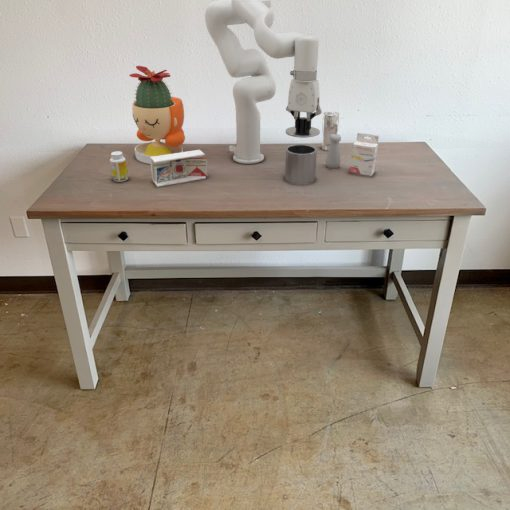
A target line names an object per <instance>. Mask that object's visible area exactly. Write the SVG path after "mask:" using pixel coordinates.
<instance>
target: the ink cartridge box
mask: <svg viewBox="0 0 510 510" xmlns="http://www.w3.org/2000/svg"><path fill="white" fill-rule="evenodd" d="M367 137H368V138H367ZM379 138H380V137H379V135H376V134H370V133H363V132H362V133H361V132H357V134H356V141H355V142H354V143H353V144H352V149H351V159H350V167H349V173H351V174H358V175H364V176H369V177H372V176H373V175H374V173H375V170H376V163H377V156H378V155H377V154H378V149H379Z"/></svg>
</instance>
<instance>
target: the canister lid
mask: <svg viewBox="0 0 510 510" xmlns="http://www.w3.org/2000/svg"><path fill="white" fill-rule="evenodd" d="M306 119H307V117H305V116H302V117H301V116H300V118H299V131H296V128H295V126H290V127H288V128H286V129H285V134H286V135H287V136H290V137H294V138H301V139H304V138H305V139H306V138H314V137H317V136H319V135H320V133H321V130H320V129H319V128H317V127H314V126H311V129H310V130H309V131H308V132H305V121H306Z"/></svg>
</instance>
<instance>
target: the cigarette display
mask: <svg viewBox="0 0 510 510" xmlns="http://www.w3.org/2000/svg"><path fill="white" fill-rule="evenodd" d="M202 156H206V154H205V153H204V152H203V151H202V150H201V149H195V150H188V151H183V152H180V153H174V154H167V155H160V156H153V157H150V162H151V164H150V170H151V178H152V179H151V180H152V183H154V184H155V186H156V188H159V187H165V186H170V185H176V184H181V183H183V184H184V183H187V182H193V181H200V180H205V179H207V177H208V161H207V159H208V158H207V157H202Z"/></svg>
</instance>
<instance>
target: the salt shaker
mask: <svg viewBox="0 0 510 510" xmlns="http://www.w3.org/2000/svg"><path fill="white" fill-rule="evenodd" d="M341 140H342V136H341V135H340V134H338V133H337V134H332V135H330V141H331V143H330V147H329V151H327V155H326V158H325V165H326V167H327V168H329V169H337V168H339V167H340V166H341V161H342V160H341V151H340V150H341V149H340V142H341Z"/></svg>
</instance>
